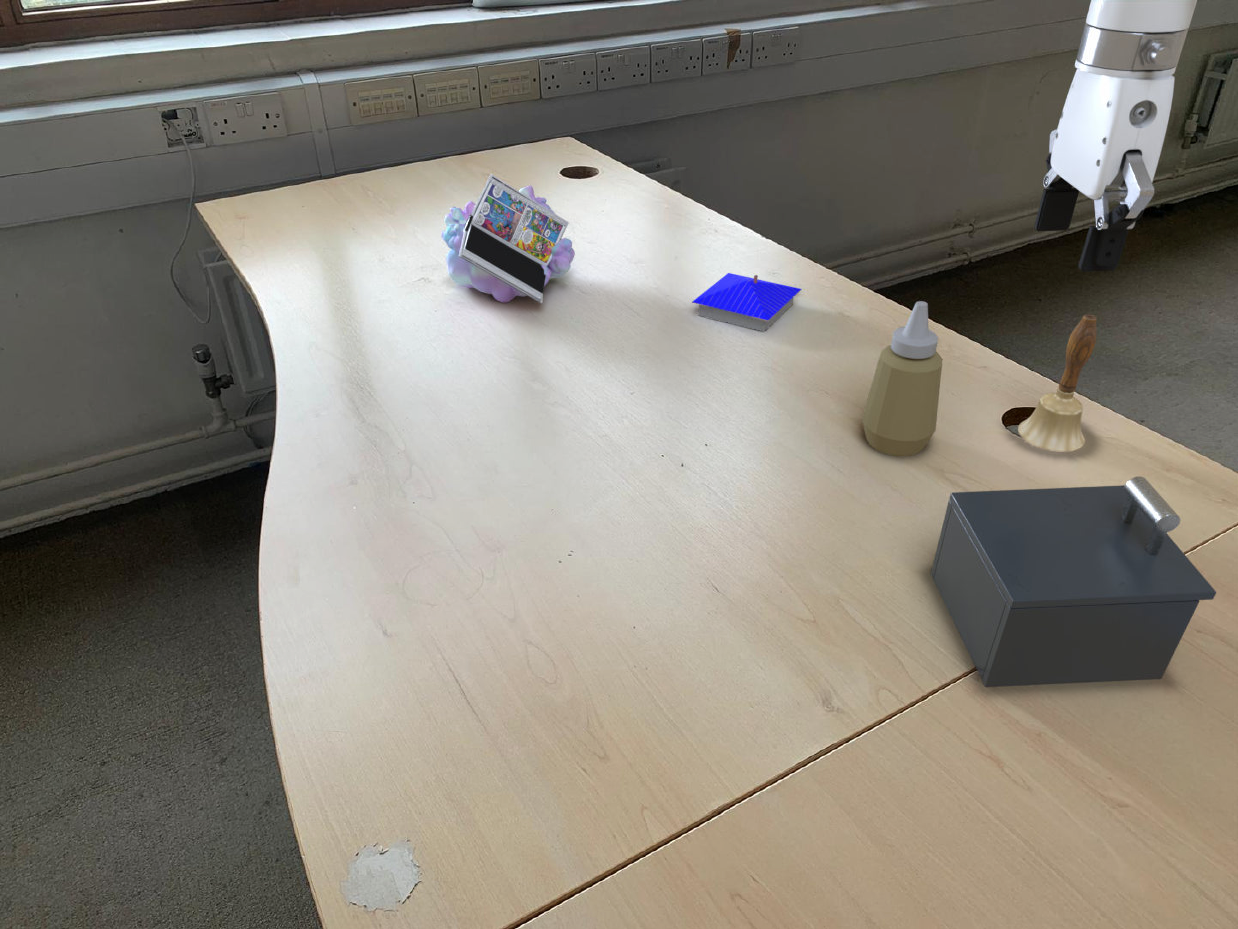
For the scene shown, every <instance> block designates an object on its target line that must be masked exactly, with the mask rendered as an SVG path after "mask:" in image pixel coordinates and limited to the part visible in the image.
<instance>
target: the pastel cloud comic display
mask: <svg viewBox="0 0 1238 929" xmlns="http://www.w3.org/2000/svg"><path fill="white" fill-rule="evenodd" d="M449 210H450V213H447V214H445V216H444V219H443V220H444V221H443V222H444V224H445V225H446V226H447V227H446V229H445V230H442V231H441V233H440V237H441V239H442V240H443V241H444V242H445V244H446V245H447V247H448V248H449V249H450V250H448V252H447V253H446V255H445V261H446V266H447V274H448V276H449V277H450V279H451V280H452V281H453V282H454V283H455V284H456V285H459V286H461V287H465V288H470V289H472V288H473V289H475V290H477V291H478V292H481V293H484V294H488V295H492V297H493V299H495V300H496V301H498V302H500V303H502V304H504V303H509V302H510V301H512V300H513V299H515V297H517V296H518V297H529V298H531V299H533V300H535V301H536V302H538V303H540V304H543V300H544V299H543V298H544V290H545V287H546V286H547V284H548V283H549V281H550V279H555V278H556V279H557V278H562V277H563V276H565V274H566V273H567V272H569V271H570V269H571V266H572V265H571V263H572V262H573V260H574V258H575V255H576V253H575V252H576V251H575V250H574V248H573V241H572V240H571V239H570V238H567V237H563V236H564V234H565V232H566V230H567V228H568V226H569V224H570V222H569V221H567V220H566V219H564V218H562V217H561V216H560V215H557V214H556V213H555V211H554V210H553V209H552V208H551V207H550V205H549V204H548V203H547V198H545V197H543V196H542V197H540V196H535V191H534V187H533V185H527V186H523V187H521V188H520V189H519V190H518V189H516V188H514V187H513V186H511V185H509V184H508V183H507V182H505V181H503V180H501V179H500V178H498V177H497V176H496V175H493V174H492V173H490V175H489V176H488V179H487V181H486V182H485V185H484V187H483V189H482V191H481V192H480V195H479V197H478V199H477V201H476V203H475V202H474V201H473V200H469V201H468V202H467V203H466V204H465V207H464V209H462V208H461V207H456V206H452V207H451V208H449Z"/></svg>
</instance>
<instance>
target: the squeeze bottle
mask: <svg viewBox="0 0 1238 929" xmlns="http://www.w3.org/2000/svg"><path fill="white" fill-rule="evenodd" d="M929 328H930V326H929V305H928V303H927V302H926V301H923V300H919V301H916V302H915V303H914V306H913V308H912V311H911V313H910V314H909V317H908V319H907V322H906V324H905V325H904V326H899V327H898V328H897V329H894V330H893V332H892V337H891V343H890V344H889V345H887V346H885V347H884V348H883V349H882V350H881V351H880V354H879V357H878V361H877V364H876V368H875V371H874V375H873V378H872V382H871V385H870V388H869V392H868V396H867V398H866V402H865V406H864V409H863V412H862V417H861V421H862V426H863V430H864V435H865V439H866V441H867V443H868V445H869V446H870V447H871V448H873V449H875V451H876V452H879V453H881V454H884V455H886V456H893V457H901V458H902V457H911V456H914V455H916V454H917V455H918V454H919V453H921V451H922V450H924V448H925V447H926V446H927V444H928V442H929V441H930V440H931V438H932V437H933V435H934V434H935V433H936V431H937V430H936V429H937V420H938V419H937V418H938V410H939V400H940V388H941V381H942V380H941V379H942V370H943V369H942V368H943V358H942V356H941V355H940V354H939V353H938V352H937V346H938V343H939V337H938V335H937V334H936V333H935V332H934V331H932V330H931V329H929Z"/></svg>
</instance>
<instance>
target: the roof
mask: <svg viewBox="0 0 1238 929" xmlns="http://www.w3.org/2000/svg"><path fill="white" fill-rule="evenodd" d="M801 291H802V288H799V287H796V286H795V287H794V286H789V285H785V284H781V283H777V282H772V281H769V280H768V281H767V280H764V279H759V278H758V275H756V274H755V275H754V276H753V277H749V276H746V275H745V276H744V275H739V274H735V273H732V272H728V273H726V274H725V275H724V276H722V277H721V278H720V279H719V280H717V281H716V282H715V283H714V284H712V285H711V286H710V287H708V289H706V290H705V291H703V293H701V294H700V295H698V296H697V297H696V298H695V299H693V301H691V303H692V304H696V305H698V316H699V315H700V316H699V317H701V316H704V317H703V318H705V317H708V318H707V319H709V318H712V319H711V320H713V319H716V320H715V321H717V320H720V321H719V322H721V321H724V322H723V323H726V322H728V323H727V324H730V323H732V324H731V325H734V324H736V325H735V326H738V325H740V326H739V327H742V326H744V327H743V328H746V327H748V328H747V329H750V328H752V329H751V330H754V329H756V330H755V331H758V330H760V331H759V332H762V331H765V330H766V329H767V328H768V327H769V326H770V325H771V324H772V323H773V322H774V321H775V322H776V321H777V320H778V319H779V318H781V316H782V315H783V314H785V313H786V312H787V311H788V310H789V309H790V308H791V307H792V306H793V305H794V297H796V296H797V295H798V294H799V293H800V292H801ZM792 304H793V305H792ZM791 305H792V306H791ZM790 306H791V307H790ZM789 307H790V308H789ZM788 308H789V309H788ZM787 309H788V310H787ZM775 322H774V323H775ZM774 323H773V324H774ZM773 324H772V325H773ZM772 325H771V326H772ZM771 326H770V327H771ZM770 327H769V328H770ZM769 328H768V329H769ZM768 329H767V330H768ZM767 330H766V331H767ZM766 331H765V332H766Z"/></svg>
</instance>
